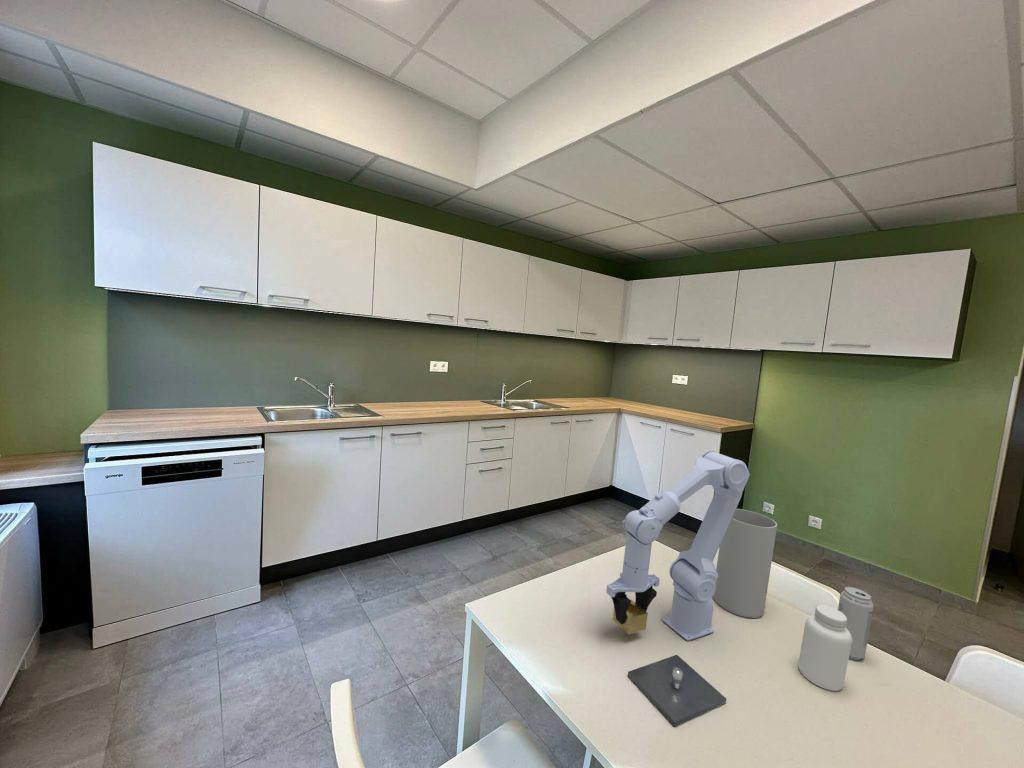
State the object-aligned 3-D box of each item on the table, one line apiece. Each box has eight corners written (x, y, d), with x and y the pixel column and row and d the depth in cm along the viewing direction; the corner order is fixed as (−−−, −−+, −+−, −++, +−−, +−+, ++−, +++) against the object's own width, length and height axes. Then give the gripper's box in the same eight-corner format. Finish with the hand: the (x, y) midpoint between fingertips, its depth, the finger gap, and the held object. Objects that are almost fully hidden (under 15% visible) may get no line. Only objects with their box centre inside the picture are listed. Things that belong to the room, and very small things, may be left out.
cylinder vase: (707, 603, 111) (719, 515, 109) (718, 585, 121) (730, 505, 119) (759, 626, 103) (773, 532, 101) (767, 605, 113) (780, 519, 111)
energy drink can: (830, 639, 101) (840, 582, 99) (862, 651, 97) (872, 592, 96) (832, 653, 96) (842, 592, 94) (866, 666, 92) (876, 604, 91)
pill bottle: (832, 697, 82) (843, 628, 81) (790, 668, 89) (800, 604, 88) (851, 685, 86) (862, 619, 85) (809, 659, 93) (819, 597, 92)
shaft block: (676, 658, 89) (678, 641, 89) (725, 703, 78) (728, 684, 78) (627, 676, 83) (629, 657, 82) (674, 727, 72) (677, 706, 72)
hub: (629, 614, 99) (631, 599, 99) (645, 629, 94) (647, 613, 94) (612, 619, 97) (614, 603, 96) (628, 634, 92) (630, 617, 91)
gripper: (646, 550, 101) (640, 602, 102) (600, 559, 95) (594, 614, 96) (668, 565, 95) (661, 620, 96) (621, 575, 88) (614, 634, 89)
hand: (629, 618), depth 95 cm, fingers closed on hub, 5 cm apart
